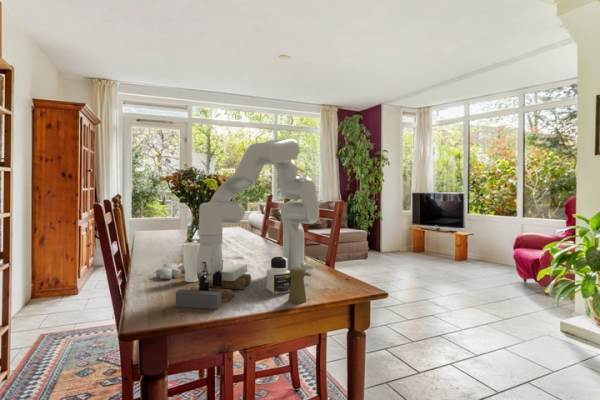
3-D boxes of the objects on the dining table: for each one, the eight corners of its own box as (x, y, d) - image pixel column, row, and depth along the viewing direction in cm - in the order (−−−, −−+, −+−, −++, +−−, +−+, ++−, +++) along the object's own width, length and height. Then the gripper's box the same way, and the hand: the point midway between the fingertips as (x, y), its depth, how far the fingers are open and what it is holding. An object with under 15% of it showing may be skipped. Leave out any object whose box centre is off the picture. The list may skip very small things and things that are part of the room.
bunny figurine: (152, 271, 137) (163, 259, 152) (152, 283, 138) (163, 270, 152) (176, 270, 138) (185, 259, 153) (177, 283, 139) (185, 270, 153)
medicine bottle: (274, 294, 121) (274, 260, 121) (266, 288, 128) (266, 256, 127) (292, 291, 124) (292, 258, 124) (283, 286, 131) (284, 255, 130)
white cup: (195, 283, 133) (195, 245, 133) (179, 282, 135) (179, 244, 134) (204, 279, 140) (204, 242, 140) (188, 278, 141) (188, 241, 141)
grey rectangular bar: (221, 306, 108) (221, 292, 108) (217, 309, 105) (217, 295, 105) (181, 303, 111) (181, 289, 111) (175, 306, 108) (175, 291, 108)
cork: (287, 297, 117) (288, 265, 117) (305, 297, 118) (305, 265, 117) (288, 303, 111) (289, 270, 111) (307, 303, 112) (307, 269, 111)
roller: (232, 297, 117) (232, 287, 116) (228, 302, 113) (228, 292, 113) (194, 295, 120) (194, 285, 119) (189, 299, 116) (188, 289, 116)
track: (251, 283, 135) (251, 273, 134) (226, 302, 112) (226, 290, 112) (217, 281, 137) (217, 271, 137) (187, 299, 115) (187, 287, 115)
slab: (247, 271, 136) (247, 264, 136) (233, 281, 122) (233, 272, 122) (223, 270, 138) (223, 263, 138) (207, 279, 124) (207, 271, 124)
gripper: (212, 235, 125) (212, 282, 125) (187, 242, 108) (187, 296, 108) (231, 236, 123) (231, 283, 124) (209, 243, 106) (209, 298, 107)
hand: (210, 289), depth 116 cm, fingers open, 9 cm apart
